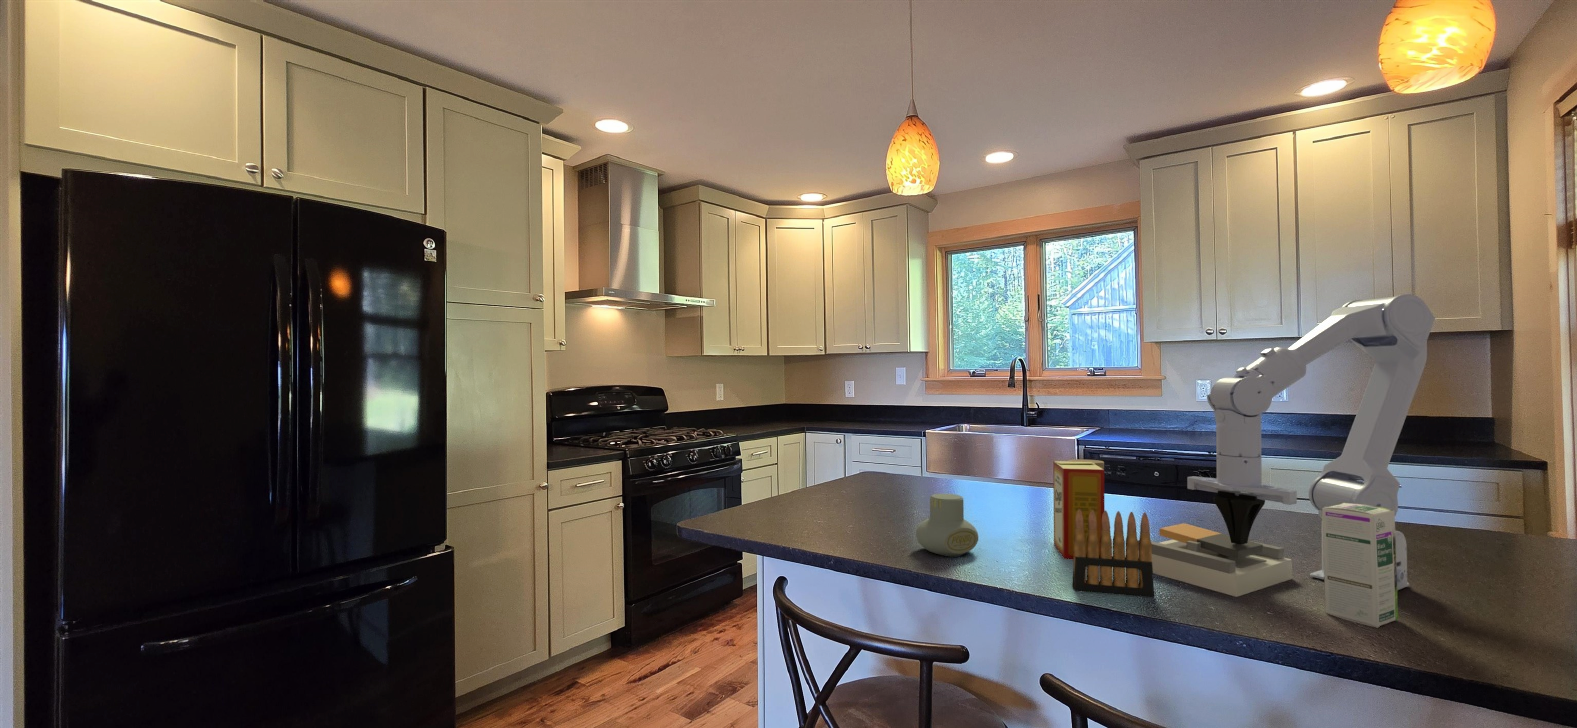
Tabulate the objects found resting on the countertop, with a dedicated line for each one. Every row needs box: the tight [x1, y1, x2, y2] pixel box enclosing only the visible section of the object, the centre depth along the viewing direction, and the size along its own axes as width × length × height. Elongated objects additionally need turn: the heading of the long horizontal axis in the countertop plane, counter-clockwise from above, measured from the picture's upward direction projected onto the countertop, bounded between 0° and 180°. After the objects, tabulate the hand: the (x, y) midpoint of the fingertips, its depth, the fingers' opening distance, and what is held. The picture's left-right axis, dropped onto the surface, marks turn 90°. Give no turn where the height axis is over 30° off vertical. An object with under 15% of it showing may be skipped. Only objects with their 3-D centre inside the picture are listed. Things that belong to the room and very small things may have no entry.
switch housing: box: [1137, 539, 1293, 598], centre depth 104 cm, size 16×16×6 cm
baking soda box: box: [1052, 460, 1106, 560], centre depth 116 cm, size 10×6×16 cm
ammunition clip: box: [1071, 509, 1155, 599], centre depth 95 cm, size 11×2×12 cm, turn 74°
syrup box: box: [1321, 503, 1399, 629], centre depth 85 cm, size 6×6×14 cm
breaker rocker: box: [1158, 522, 1263, 559], centre depth 104 cm, size 12×7×1 cm, turn 29°
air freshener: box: [915, 493, 979, 558], centre depth 117 cm, size 11×8×10 cm
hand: (1239, 542), depth 100 cm, fingers closed
